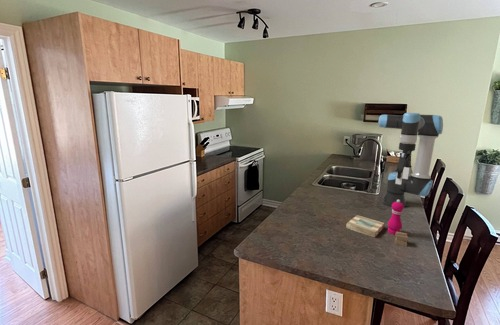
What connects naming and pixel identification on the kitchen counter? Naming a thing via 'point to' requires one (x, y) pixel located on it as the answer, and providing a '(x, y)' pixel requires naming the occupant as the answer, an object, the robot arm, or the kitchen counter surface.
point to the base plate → (365, 226)
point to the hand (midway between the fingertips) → (401, 181)
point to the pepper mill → (395, 218)
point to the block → (401, 238)
